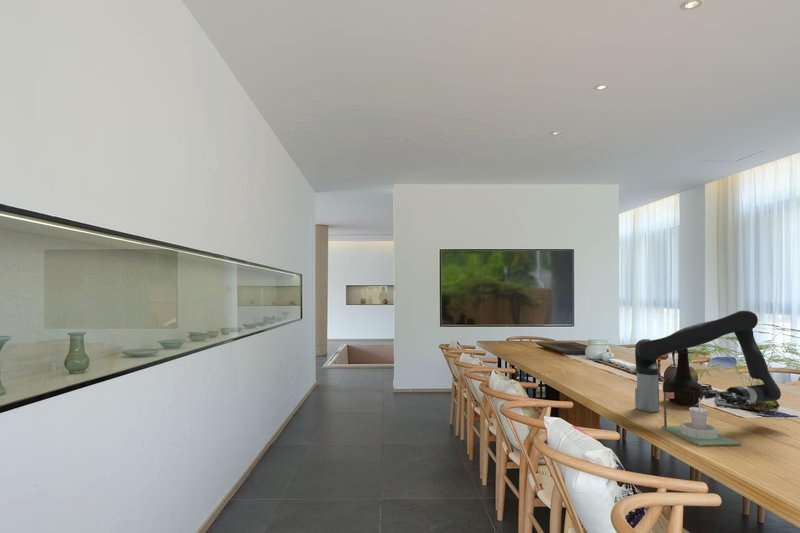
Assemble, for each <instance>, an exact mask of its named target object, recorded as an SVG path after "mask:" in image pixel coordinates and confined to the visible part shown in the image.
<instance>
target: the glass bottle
mask: <svg viewBox="0 0 800 533" xmlns="http://www.w3.org/2000/svg"><path fill="white" fill-rule="evenodd" d="M688 350H689V348H687V349H683V350H678V351H675V353H677V364H676V373H675V376H673V377H672V378H671V377H668V378H666V379H665V380H664V381H663V383H662V393H663V394H664V392H665V393H672V392H674V398H669V399H668V400H669V401H670V402H671V403H673V404H676V405H679V406H688V407H689V406H690V407H691V406H694V405H698V404H699V398H700V401H702V400H703V399H704V394H705V390H704V388H703V387H702V385H701V384H700V383H699V382H698V381H696V380H695V379H693V377H692V374H691V370H690V362H689V354H690V353H691V352H690V351H688Z"/></svg>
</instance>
